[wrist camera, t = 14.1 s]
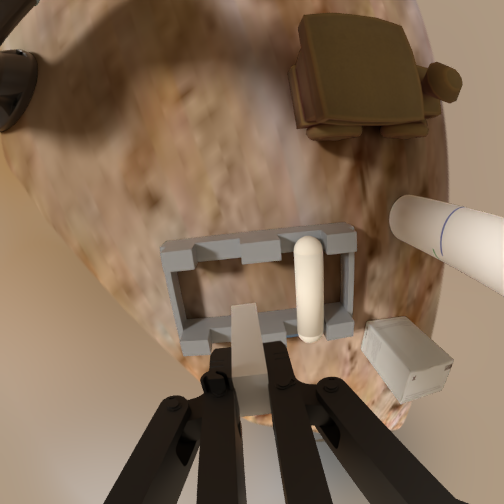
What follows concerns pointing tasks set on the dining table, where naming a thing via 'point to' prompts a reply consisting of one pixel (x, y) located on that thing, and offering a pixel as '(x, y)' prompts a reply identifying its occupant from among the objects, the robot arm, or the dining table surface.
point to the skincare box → (405, 358)
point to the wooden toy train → (364, 79)
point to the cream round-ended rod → (309, 288)
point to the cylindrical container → (453, 236)
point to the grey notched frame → (255, 251)
